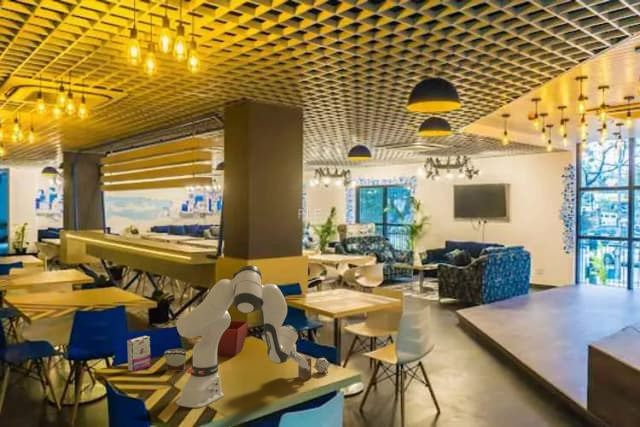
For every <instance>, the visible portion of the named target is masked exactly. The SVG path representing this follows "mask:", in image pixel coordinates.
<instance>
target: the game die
mask: <svg viewBox="0 0 640 427" xmlns="http://www.w3.org/2000/svg"><path fill="white" fill-rule="evenodd" d="M325 357H326V356H324V355H323V357H320V358H318V357H316V358H315V359H316V360H315V363H314V366H312V368H314V369H315V370H316V371H317V372H318V375H320V374H321V373H327V374H328V369H329V367H330V365H331V364H332V363H331V362H329V361H328V359H326V358H325Z"/></svg>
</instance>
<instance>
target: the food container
mask: <svg viewBox="0 0 640 427" xmlns="http://www.w3.org/2000/svg"><path fill="white" fill-rule="evenodd" d="M163 356H164V357H165V364H166V371H171V370H175V371H176V372H179V371H181V372H184V371H185V370H186V360H187V356H188V352H187V350H186V349H184V348H172V349H171V348H170V349H167V350H165V351H164V353H163Z"/></svg>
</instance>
